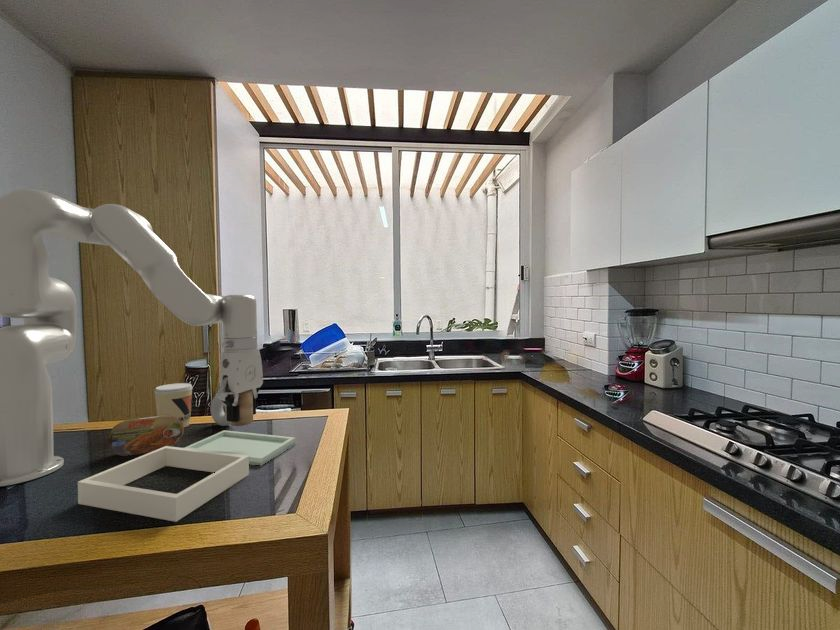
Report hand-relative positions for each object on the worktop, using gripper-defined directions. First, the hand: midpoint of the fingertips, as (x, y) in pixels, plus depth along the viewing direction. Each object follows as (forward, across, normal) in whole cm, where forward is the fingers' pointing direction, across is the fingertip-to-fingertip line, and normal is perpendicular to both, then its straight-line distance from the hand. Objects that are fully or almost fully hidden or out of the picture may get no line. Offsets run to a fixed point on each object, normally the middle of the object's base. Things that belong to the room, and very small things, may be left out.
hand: (241, 416), depth 88 cm
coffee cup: (+8, +10, +32) cm, 35 cm away
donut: (+8, +14, +18) cm, 24 cm away
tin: (+8, -6, +22) cm, 25 cm away
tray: (+8, 0, 0) cm, 8 cm away
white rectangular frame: (+8, -19, 0) cm, 21 cm away
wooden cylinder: (+1, 0, 0) cm, 1 cm away
